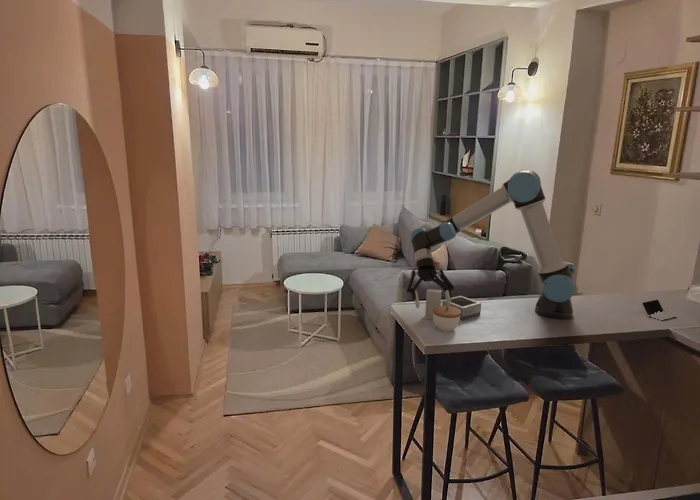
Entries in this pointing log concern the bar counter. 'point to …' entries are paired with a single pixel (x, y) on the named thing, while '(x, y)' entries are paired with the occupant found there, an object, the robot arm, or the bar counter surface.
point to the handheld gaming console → (652, 307)
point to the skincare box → (432, 302)
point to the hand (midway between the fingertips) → (433, 306)
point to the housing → (465, 306)
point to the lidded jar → (446, 318)
